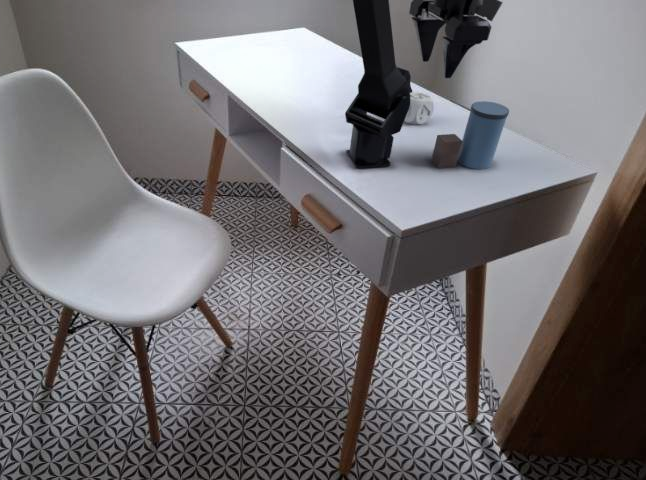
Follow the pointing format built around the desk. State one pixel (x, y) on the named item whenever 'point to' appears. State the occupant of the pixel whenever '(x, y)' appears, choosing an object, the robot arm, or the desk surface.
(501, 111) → the blue canister
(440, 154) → the small dark brown block
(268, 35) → the desk surface
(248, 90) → the desk surface
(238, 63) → the desk surface
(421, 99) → the die
